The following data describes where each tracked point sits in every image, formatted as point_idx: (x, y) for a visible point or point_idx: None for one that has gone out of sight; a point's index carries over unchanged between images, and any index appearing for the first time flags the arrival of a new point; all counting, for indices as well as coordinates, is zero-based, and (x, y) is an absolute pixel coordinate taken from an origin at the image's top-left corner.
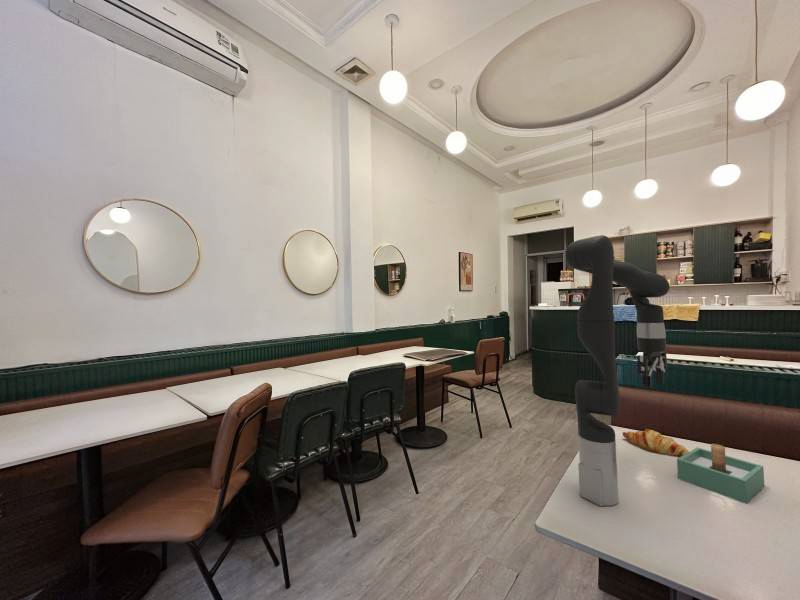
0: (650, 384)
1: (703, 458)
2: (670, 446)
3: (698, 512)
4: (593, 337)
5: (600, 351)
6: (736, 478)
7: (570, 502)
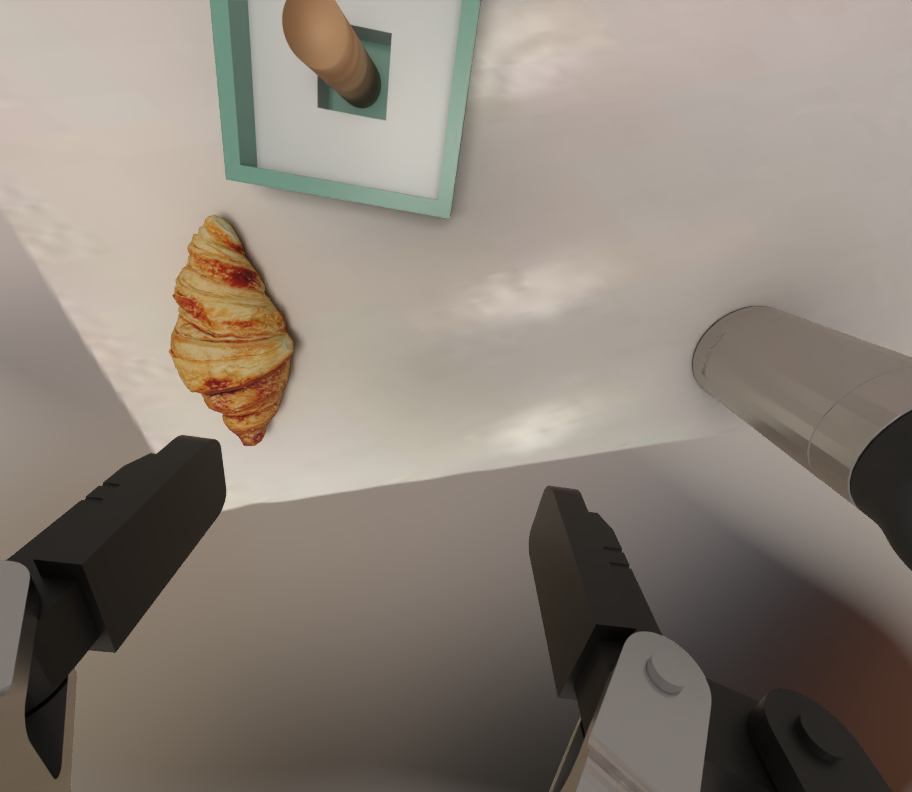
0: (584, 512)
1: (267, 152)
2: (241, 287)
3: (672, 106)
4: None
5: None
6: None
7: None
